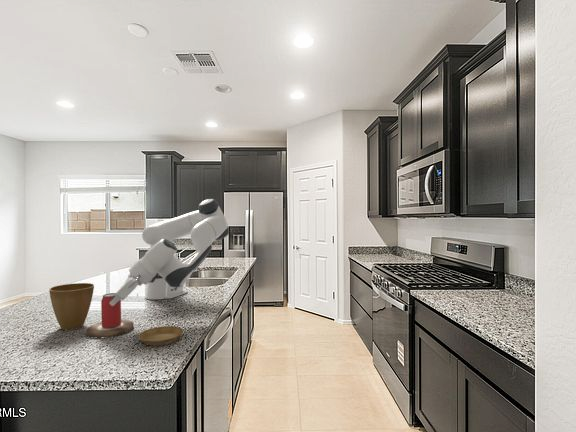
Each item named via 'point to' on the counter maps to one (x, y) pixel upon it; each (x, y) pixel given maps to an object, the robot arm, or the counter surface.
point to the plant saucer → (160, 335)
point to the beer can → (110, 311)
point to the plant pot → (71, 304)
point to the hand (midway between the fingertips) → (113, 301)
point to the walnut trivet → (109, 329)
